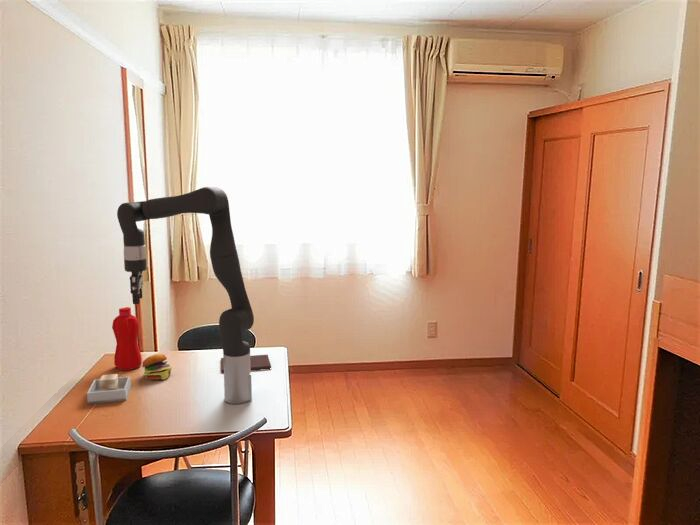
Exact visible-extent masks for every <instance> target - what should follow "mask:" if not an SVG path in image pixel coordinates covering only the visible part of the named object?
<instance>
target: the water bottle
mask: <svg viewBox="0 0 700 525" xmlns="http://www.w3.org/2000/svg"><path fill="white" fill-rule="evenodd" d="M131 311H132V310H131V306H125V307H121V308H118V315H116V317H115V318H114V319H113V321H112V325H111V326H112V331H113V334H114V338H115V341H116V347H115V353H114V366H115V368H116V369H118V370H120V371H122V370H127V371H130V370H133V369H137V368H140V366H142V365H143V358H142V354H141V350H140V347H139V343H138V337H139V332H140V322H139V319H138V318H137V317H136V316H135V315H133V314H132V312H131Z"/></svg>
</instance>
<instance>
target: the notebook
mask: <svg viewBox="0 0 700 525" xmlns="http://www.w3.org/2000/svg"><path fill="white" fill-rule="evenodd" d="M220 366H221V368H220V370H221V371H220V372H221V374H224V361H223V357H221V358H220ZM250 367H251V370H256V371H261V370H260V369H269V370H271V369H272V365H271V362H270V358H269V355H268V354H256V355H250ZM270 368H271V369H270Z"/></svg>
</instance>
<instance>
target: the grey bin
mask: <svg viewBox="0 0 700 525" xmlns="http://www.w3.org/2000/svg"><path fill="white" fill-rule="evenodd" d="M100 379H101V378H97V379H96V378H95V379H94V380H93V381H92V384H91V385H90V387H89V388H88V391H87V392H86V398H87V405H92V404H93V405H95V404H104V403H114V402H125V401H127V398H128V397H129V395H130V394H129V393H130V391H131V387H132V384H131V376H120V377H119V376H118V386H119V390H110V391H101V389H100Z"/></svg>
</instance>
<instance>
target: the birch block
mask: <svg viewBox="0 0 700 525" xmlns="http://www.w3.org/2000/svg"><path fill="white" fill-rule="evenodd" d="M118 377H119V374H118V373H110V374H102V376H101V377H100V378H99V379H100V389H101V391H110V390H119V386H118Z"/></svg>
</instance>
